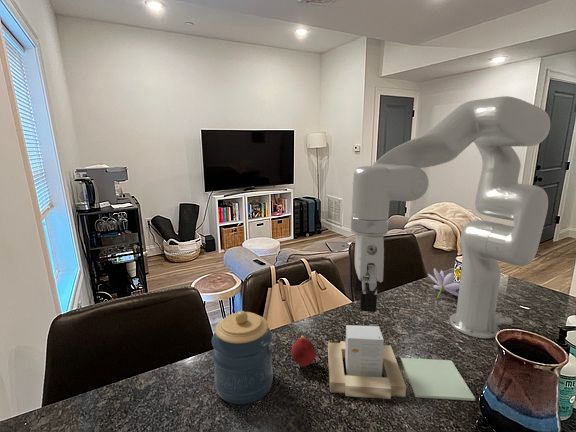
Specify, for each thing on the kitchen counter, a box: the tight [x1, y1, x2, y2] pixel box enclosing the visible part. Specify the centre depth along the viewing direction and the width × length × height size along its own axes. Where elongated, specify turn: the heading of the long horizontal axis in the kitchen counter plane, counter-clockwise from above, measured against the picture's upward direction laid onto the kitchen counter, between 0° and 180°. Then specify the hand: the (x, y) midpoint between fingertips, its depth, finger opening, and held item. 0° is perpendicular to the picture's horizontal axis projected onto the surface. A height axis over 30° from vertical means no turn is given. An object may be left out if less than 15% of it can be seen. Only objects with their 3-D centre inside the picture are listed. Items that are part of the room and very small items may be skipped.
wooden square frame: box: [327, 340, 407, 400], centre depth 74 cm, size 16×16×2 cm
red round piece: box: [290, 335, 317, 367], centre depth 76 cm, size 6×6×8 cm
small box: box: [344, 324, 385, 377], centre depth 73 cm, size 8×6×10 cm
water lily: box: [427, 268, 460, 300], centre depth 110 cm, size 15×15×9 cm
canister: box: [211, 310, 274, 405], centre depth 69 cm, size 13×13×18 cm
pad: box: [400, 357, 476, 402], centre depth 72 cm, size 12×12×1 cm
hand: (364, 300), depth 70 cm, fingers open, 9 cm apart
